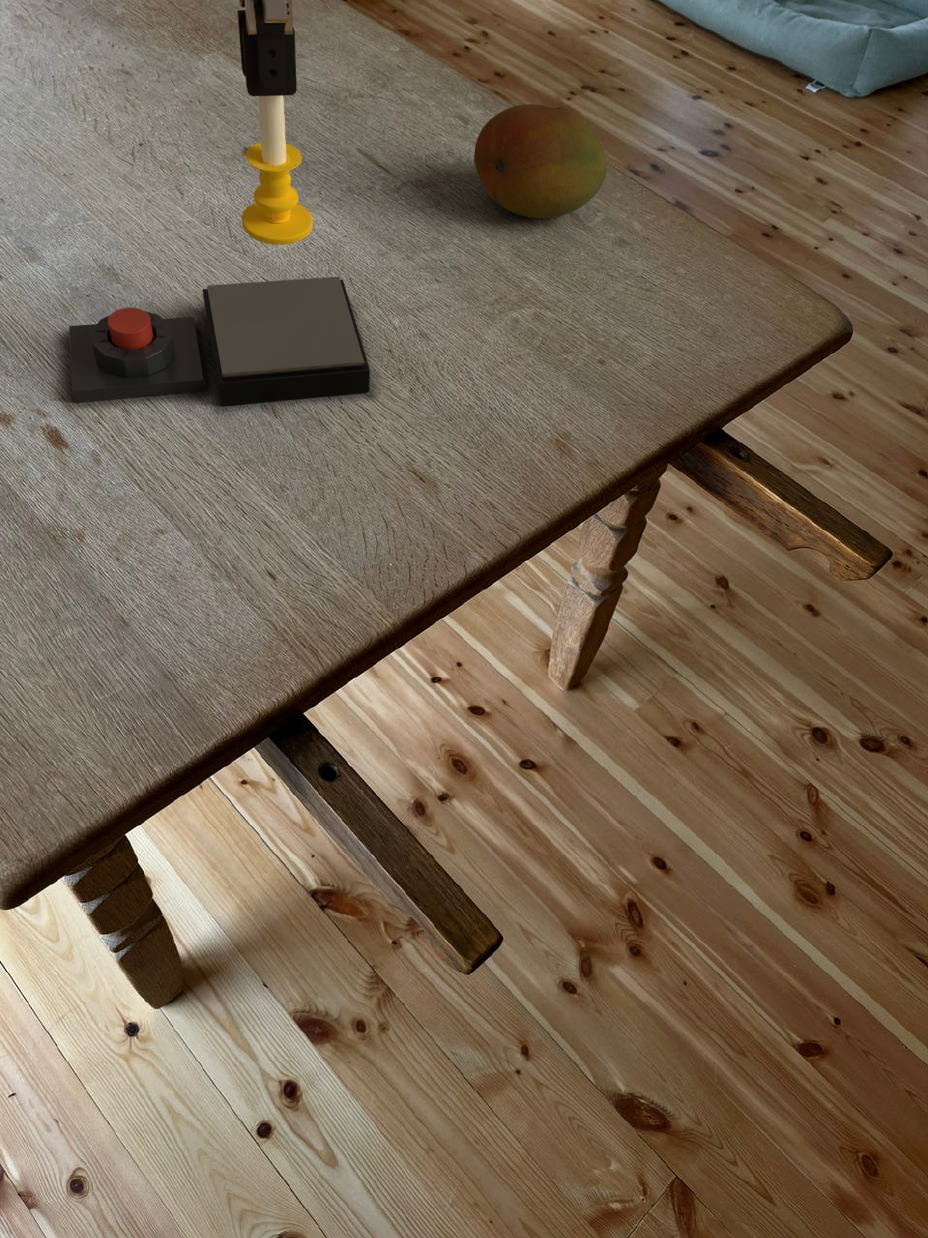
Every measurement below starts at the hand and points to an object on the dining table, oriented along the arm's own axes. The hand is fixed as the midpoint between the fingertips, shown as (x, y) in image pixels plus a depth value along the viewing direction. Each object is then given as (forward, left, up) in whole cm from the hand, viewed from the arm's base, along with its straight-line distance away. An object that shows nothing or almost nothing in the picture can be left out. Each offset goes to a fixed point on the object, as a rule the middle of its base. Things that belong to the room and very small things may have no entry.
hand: (269, 82), depth 67 cm
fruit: (+28, +19, -23) cm, 41 cm away
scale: (0, 0, -22) cm, 22 cm away
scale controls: (-12, 0, -22) cm, 25 cm away
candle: (0, 0, -11) cm, 11 cm away
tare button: (-12, 0, -20) cm, 23 cm away
